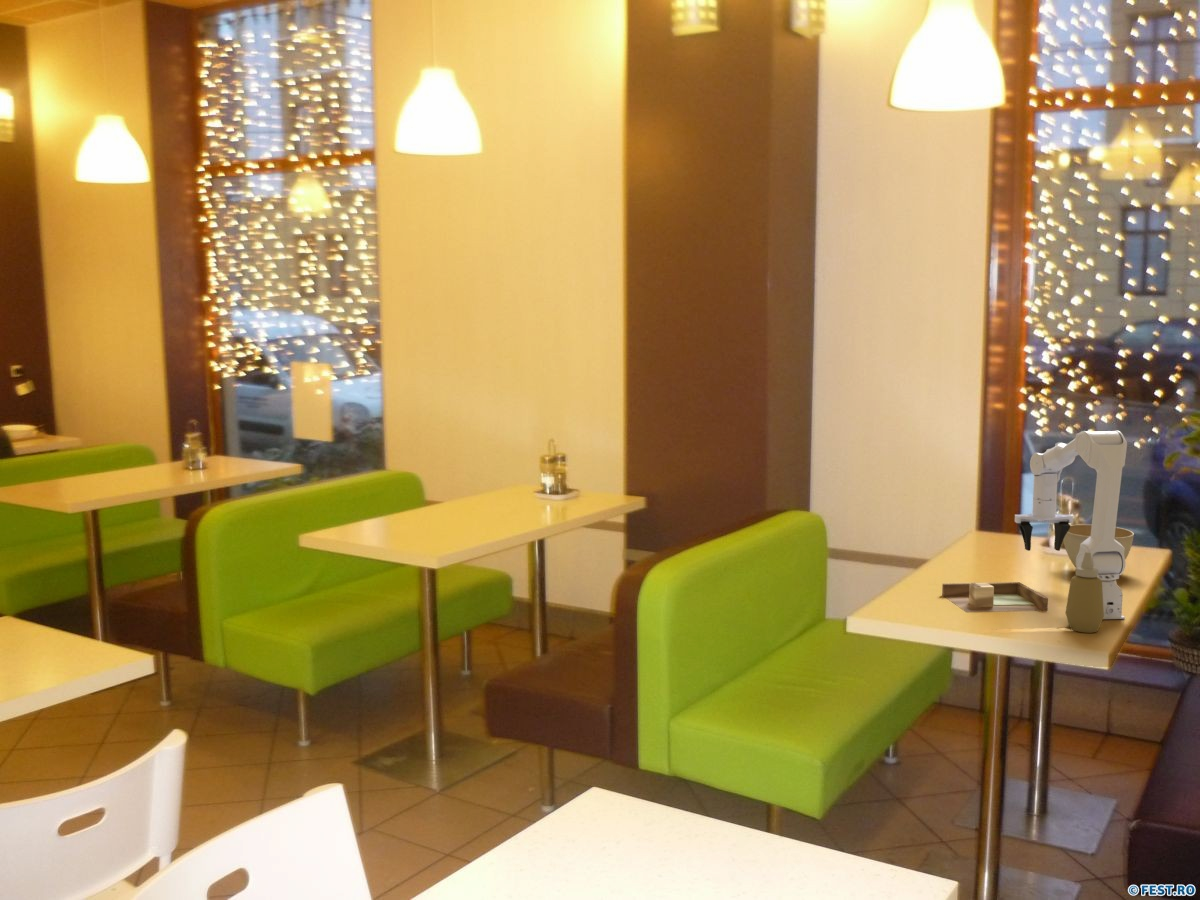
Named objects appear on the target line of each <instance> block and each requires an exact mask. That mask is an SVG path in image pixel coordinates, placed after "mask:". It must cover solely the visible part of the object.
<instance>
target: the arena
mask: <svg viewBox="0 0 1200 900" xmlns="http://www.w3.org/2000/svg"><path fill="white" fill-rule="evenodd" d="M970 583H971V582H960V583H959V582H958V583H956V582H955V583H942V588H941V589H942V590H941V591H942V592H941V595H942V597H943V598H945V599H947V600H948V601H949V602H951V603H953V604H954V605H956V606H957V607H958V608H959V609H961V610H963V612H965V613H989V612H993V613H995V612H997V613H998V612H1000V613H1001V612H1040V611H1041V612H1043V611H1048V607H1049V606H1048V605H1049V598H1048V597H1047V596H1045V595H1044V594H1042V593H1040V592H1038V591H1035V589H1032V588H1030V587H1029V586H1027V585H1025V584H1023V582H1017V581H1013V582H1012V581H1011V582H1010V581H1009V582H1005V581H1004V582H987V583H988V584H990V585H992V586H993V587H994V599H993V607H974V606H972V605H971V604H969V585H970Z"/></svg>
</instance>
